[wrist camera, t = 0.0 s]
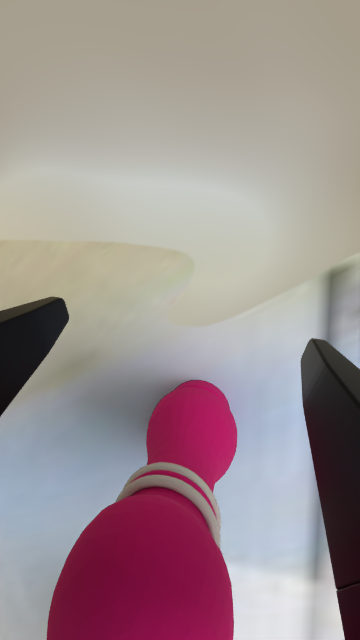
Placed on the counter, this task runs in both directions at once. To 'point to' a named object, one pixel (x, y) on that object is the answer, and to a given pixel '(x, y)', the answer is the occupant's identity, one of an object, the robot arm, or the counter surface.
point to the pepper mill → (158, 537)
